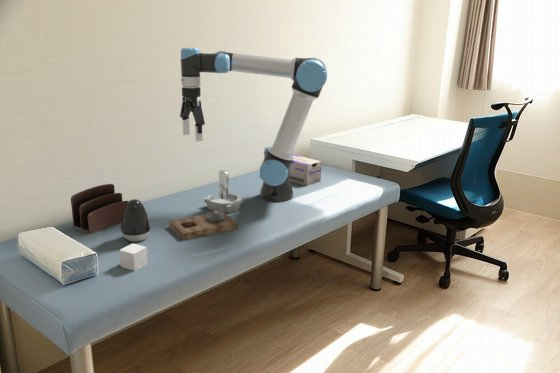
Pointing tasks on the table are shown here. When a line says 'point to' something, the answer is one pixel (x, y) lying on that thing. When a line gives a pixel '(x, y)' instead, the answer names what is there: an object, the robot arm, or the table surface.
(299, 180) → the surgical sutures box
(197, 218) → the plate
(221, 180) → the pin
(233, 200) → the dish
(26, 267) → the table surface
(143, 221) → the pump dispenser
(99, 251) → the table surface
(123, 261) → the white cube
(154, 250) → the table surface
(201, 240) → the table surface
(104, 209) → the letter holder
